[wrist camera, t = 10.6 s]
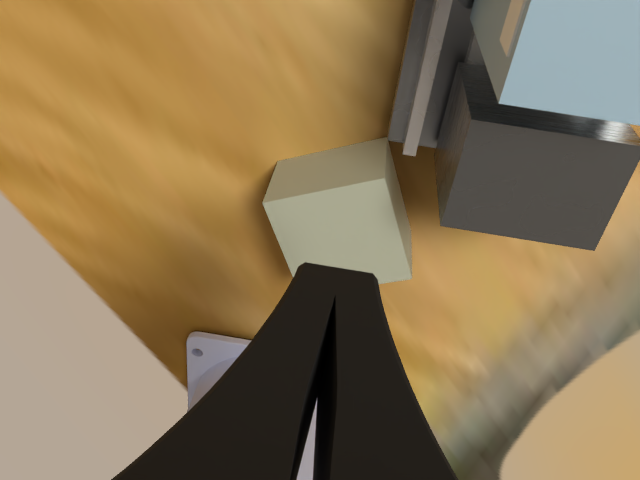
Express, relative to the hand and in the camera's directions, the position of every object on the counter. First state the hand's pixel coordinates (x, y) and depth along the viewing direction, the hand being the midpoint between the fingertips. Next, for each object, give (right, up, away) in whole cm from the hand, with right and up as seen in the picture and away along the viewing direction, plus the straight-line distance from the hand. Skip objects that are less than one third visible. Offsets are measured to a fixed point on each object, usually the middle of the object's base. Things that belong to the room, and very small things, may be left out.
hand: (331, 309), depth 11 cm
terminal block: (+1, +3, +11) cm, 11 cm away
